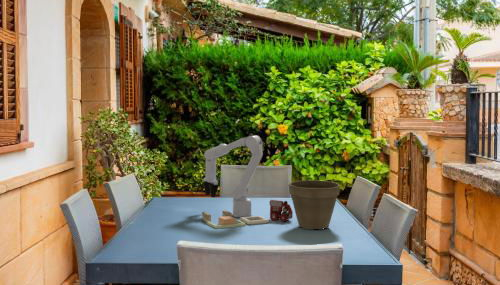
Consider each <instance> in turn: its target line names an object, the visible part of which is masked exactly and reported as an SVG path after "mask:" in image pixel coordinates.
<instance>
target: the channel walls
mask: <svg viewBox="0 0 500 285" xmlns="http://www.w3.org/2000/svg"><path fill="white" fill-rule="evenodd" d="M232 213H233V212H230V211H227V210H225V209H224V210H223V209H222V214H221V215H222V216H221V217H225V216H230V217H233V216H232ZM201 221H204V222H205V223H207V222H208V221H209V222H211V223H212V215H211V214H210V213H208V212H206V211H201Z"/></svg>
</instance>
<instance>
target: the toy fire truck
mask: <svg viewBox="0 0 500 285" xmlns="http://www.w3.org/2000/svg"><path fill="white" fill-rule="evenodd" d="M288 203H289V202H288V201H287V200H285V201H283V200H276V199H270V200H269V206H270V207H269V208H270V209H269V219H270V220H271V221H272V220H273V221H272V222H275V221H277V220H279V221H280V222H282V221H284V222H283V223H285V222H287V221H288V220H291V219H293V213H294V212H293V209H292V207H291V205H290V204H288Z"/></svg>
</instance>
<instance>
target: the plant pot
mask: <svg viewBox="0 0 500 285" xmlns="http://www.w3.org/2000/svg"><path fill="white" fill-rule="evenodd" d="M340 187H341V185H340V184H339V183H337V182H334V181H328V180H320V179H319V180H316V179H314V180H313V179H310V180H308V179H307V180H304V179H303V180H296V181H292V182H289V183H288V189H289V190H288V192H289V195H290V196H291V200H292V205H293V207H294V208H293V209H294V212H295V216H296V219H297V223H298V227H299V226H300V227H302V228H301V229H303V228H306V229H305V230H308V229H323V228H327V227H328V228H329V226H330V223H331V220H332V216H333V213H334V211H335V210H334V209H335V206H336V202H337V199H338V196H339V195H340V192H341V191H340V189H341V188H340ZM300 227H299V228H300ZM328 228H327V229H328ZM323 230H324V229H323Z"/></svg>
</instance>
